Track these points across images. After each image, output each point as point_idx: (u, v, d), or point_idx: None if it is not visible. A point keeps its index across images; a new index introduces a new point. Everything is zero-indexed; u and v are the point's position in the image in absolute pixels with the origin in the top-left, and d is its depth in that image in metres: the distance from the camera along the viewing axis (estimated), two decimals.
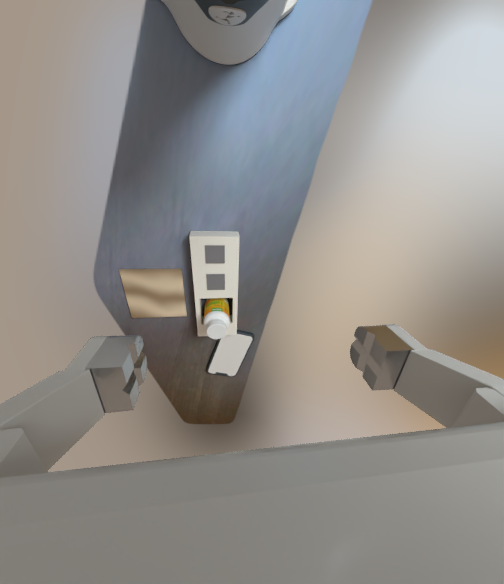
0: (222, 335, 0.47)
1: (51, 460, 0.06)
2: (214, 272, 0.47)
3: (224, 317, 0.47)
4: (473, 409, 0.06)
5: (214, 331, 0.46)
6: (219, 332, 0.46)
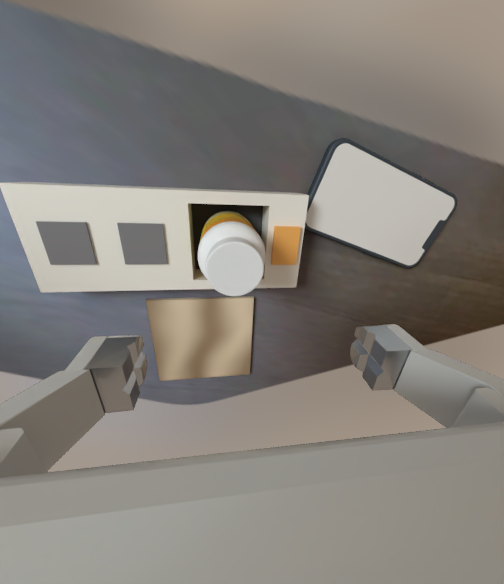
0: (249, 254, 0.16)
1: (51, 460, 0.06)
2: (117, 246, 0.20)
3: (209, 240, 0.17)
4: (473, 409, 0.06)
5: (233, 277, 0.16)
6: (238, 263, 0.16)
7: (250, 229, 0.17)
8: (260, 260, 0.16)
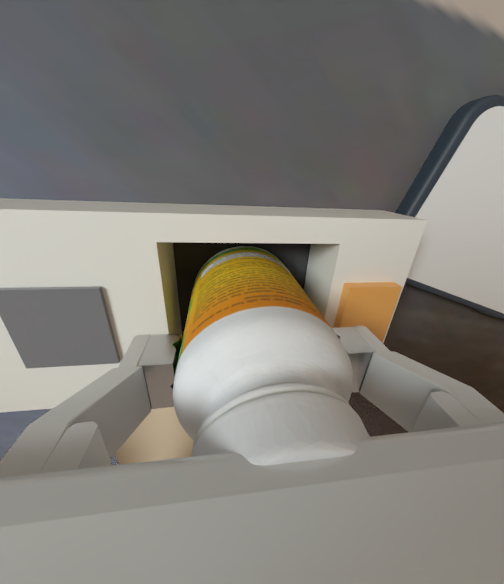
0: None
1: (108, 454, 0.06)
2: (2, 334, 0.09)
3: (204, 373, 0.06)
4: (428, 414, 0.06)
5: None
6: None
7: (322, 332, 0.06)
8: None
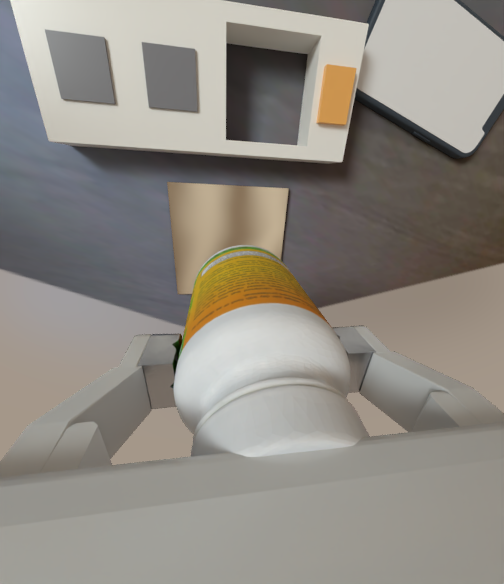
0: None
1: (108, 454, 0.06)
2: (140, 80, 0.17)
3: (203, 367, 0.06)
4: (428, 414, 0.06)
5: None
6: None
7: (320, 328, 0.06)
8: None
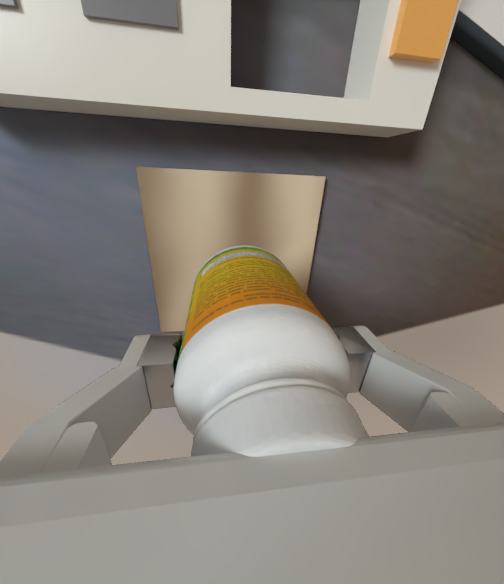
0: None
1: (108, 454, 0.06)
2: None
3: (204, 369, 0.06)
4: (428, 414, 0.06)
5: None
6: None
7: (320, 329, 0.06)
8: None
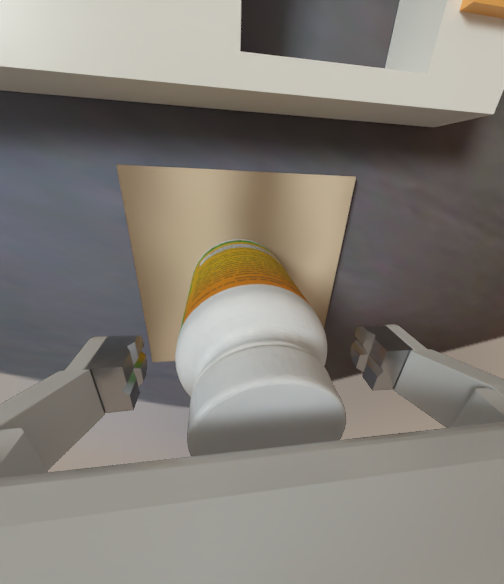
0: (312, 405, 0.05)
1: (52, 460, 0.06)
2: None
3: (200, 336, 0.07)
4: (473, 409, 0.06)
5: None
6: (279, 424, 0.06)
7: (299, 305, 0.07)
8: (340, 413, 0.06)
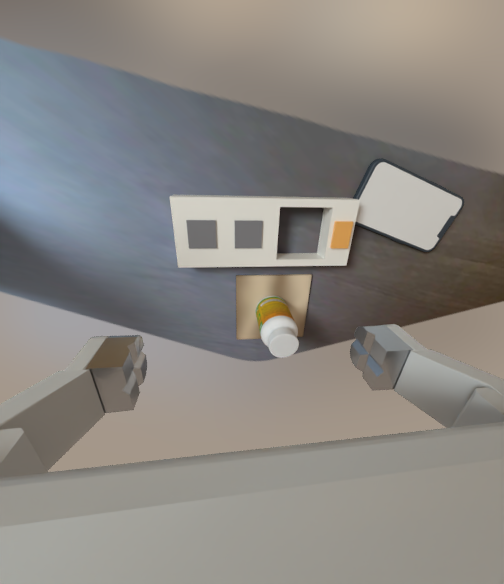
0: (291, 339, 0.30)
1: (51, 460, 0.06)
2: (231, 236, 0.31)
3: (268, 327, 0.32)
4: (473, 409, 0.06)
5: (282, 349, 0.31)
6: (285, 343, 0.31)
7: (290, 320, 0.32)
8: (297, 341, 0.31)
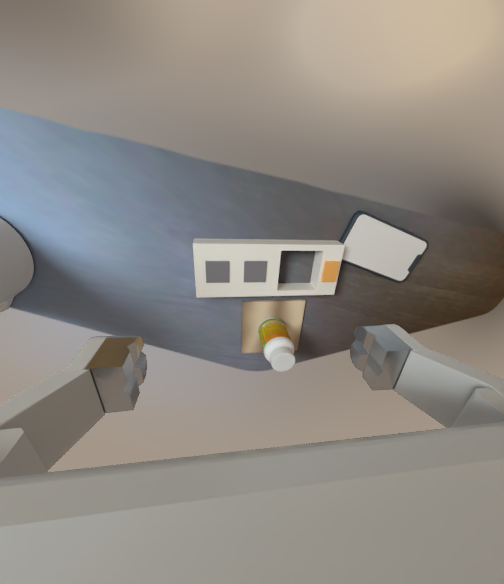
0: (289, 356, 0.38)
1: (51, 460, 0.06)
2: (241, 272, 0.38)
3: (271, 346, 0.39)
4: (473, 409, 0.06)
5: (282, 364, 0.38)
6: (285, 360, 0.38)
7: (288, 340, 0.40)
8: (294, 358, 0.38)
